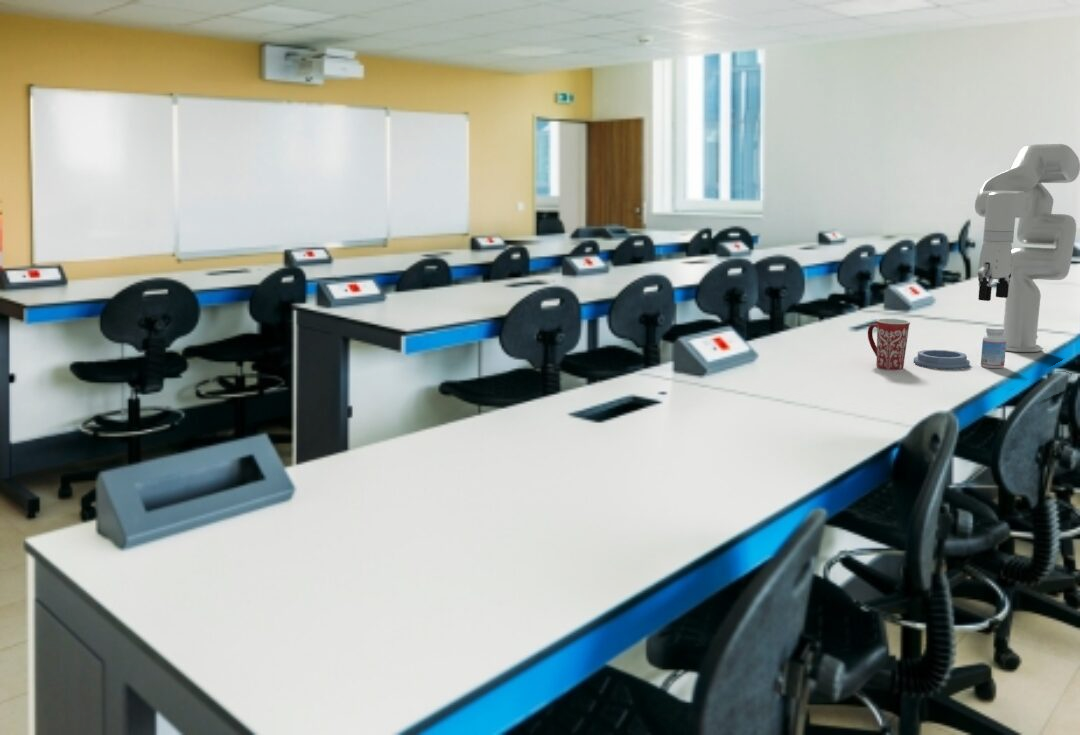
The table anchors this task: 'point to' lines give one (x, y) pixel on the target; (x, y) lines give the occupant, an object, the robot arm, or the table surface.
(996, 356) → the pill bottle
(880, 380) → the table surface
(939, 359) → the round tray
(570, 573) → the table surface
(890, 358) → the mug
